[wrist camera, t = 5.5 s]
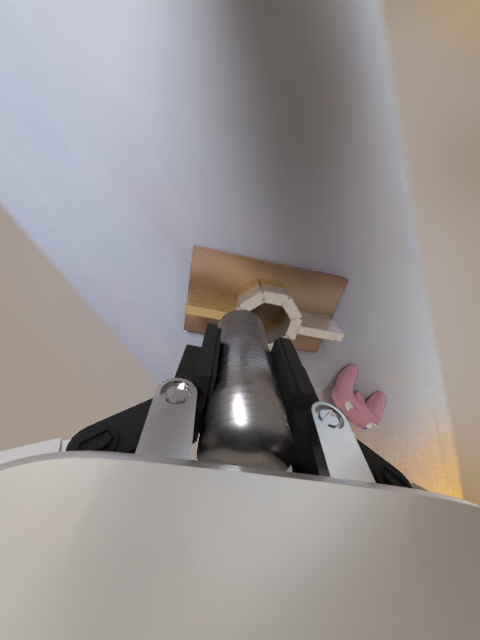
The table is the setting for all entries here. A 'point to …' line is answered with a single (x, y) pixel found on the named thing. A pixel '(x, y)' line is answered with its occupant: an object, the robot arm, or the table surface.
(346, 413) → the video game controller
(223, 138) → the table surface
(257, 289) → the hinge
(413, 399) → the table surface
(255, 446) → the hinge pin
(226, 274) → the mounting board
